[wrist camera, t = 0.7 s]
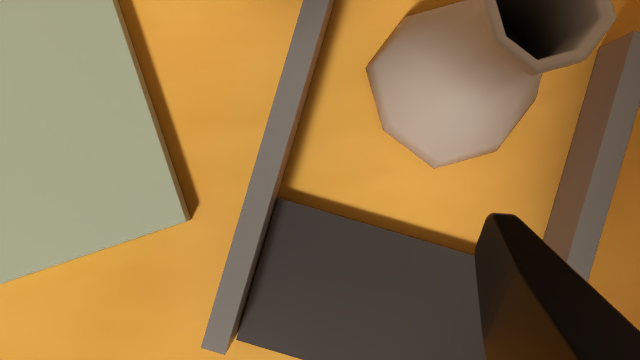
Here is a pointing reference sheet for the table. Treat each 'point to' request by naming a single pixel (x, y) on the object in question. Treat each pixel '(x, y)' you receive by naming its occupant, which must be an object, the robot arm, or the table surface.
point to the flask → (476, 70)
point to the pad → (76, 137)
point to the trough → (394, 237)
